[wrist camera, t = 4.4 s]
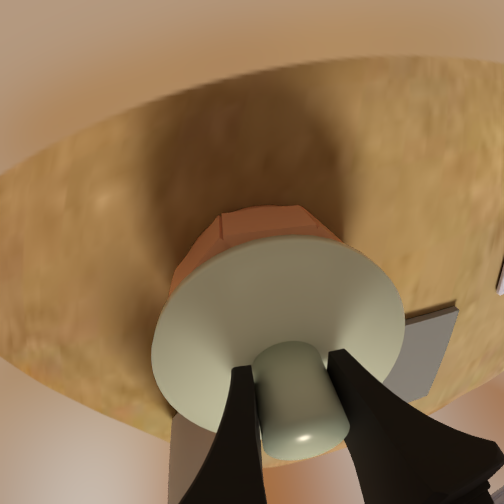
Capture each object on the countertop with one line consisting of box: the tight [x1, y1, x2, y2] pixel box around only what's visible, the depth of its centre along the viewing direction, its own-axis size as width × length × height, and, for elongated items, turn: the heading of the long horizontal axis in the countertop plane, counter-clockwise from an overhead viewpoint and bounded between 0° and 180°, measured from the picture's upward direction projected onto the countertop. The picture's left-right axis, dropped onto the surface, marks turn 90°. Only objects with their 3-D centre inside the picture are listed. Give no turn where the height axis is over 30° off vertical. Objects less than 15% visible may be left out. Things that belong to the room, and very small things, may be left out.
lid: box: [151, 234, 405, 460], centre depth 10 cm, size 10×10×4 cm
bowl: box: [168, 205, 343, 298], centre depth 15 cm, size 9×9×4 cm
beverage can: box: [168, 412, 216, 504], centre depth 16 cm, size 5×5×12 cm
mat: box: [382, 306, 459, 403], centre depth 21 cm, size 10×10×1 cm
